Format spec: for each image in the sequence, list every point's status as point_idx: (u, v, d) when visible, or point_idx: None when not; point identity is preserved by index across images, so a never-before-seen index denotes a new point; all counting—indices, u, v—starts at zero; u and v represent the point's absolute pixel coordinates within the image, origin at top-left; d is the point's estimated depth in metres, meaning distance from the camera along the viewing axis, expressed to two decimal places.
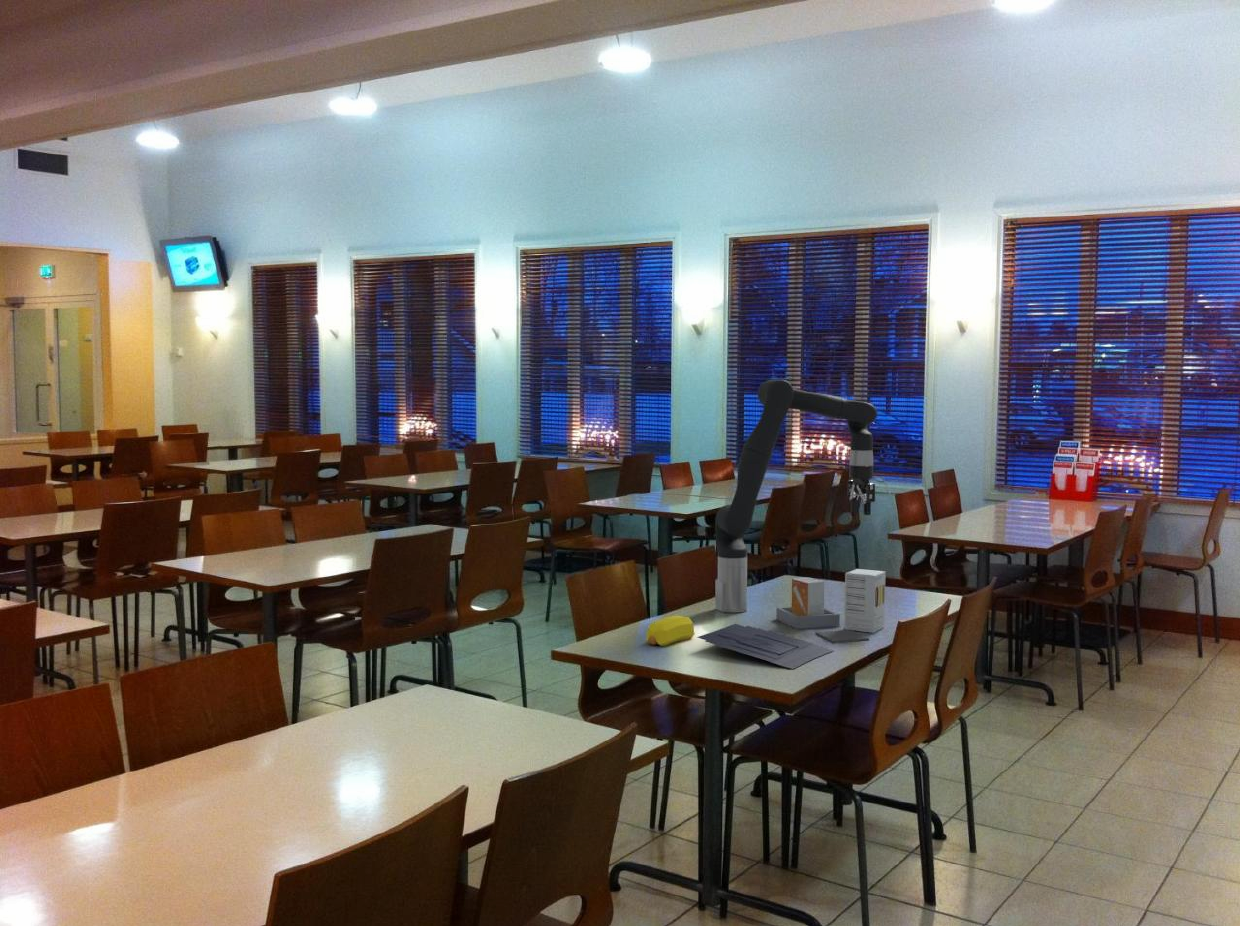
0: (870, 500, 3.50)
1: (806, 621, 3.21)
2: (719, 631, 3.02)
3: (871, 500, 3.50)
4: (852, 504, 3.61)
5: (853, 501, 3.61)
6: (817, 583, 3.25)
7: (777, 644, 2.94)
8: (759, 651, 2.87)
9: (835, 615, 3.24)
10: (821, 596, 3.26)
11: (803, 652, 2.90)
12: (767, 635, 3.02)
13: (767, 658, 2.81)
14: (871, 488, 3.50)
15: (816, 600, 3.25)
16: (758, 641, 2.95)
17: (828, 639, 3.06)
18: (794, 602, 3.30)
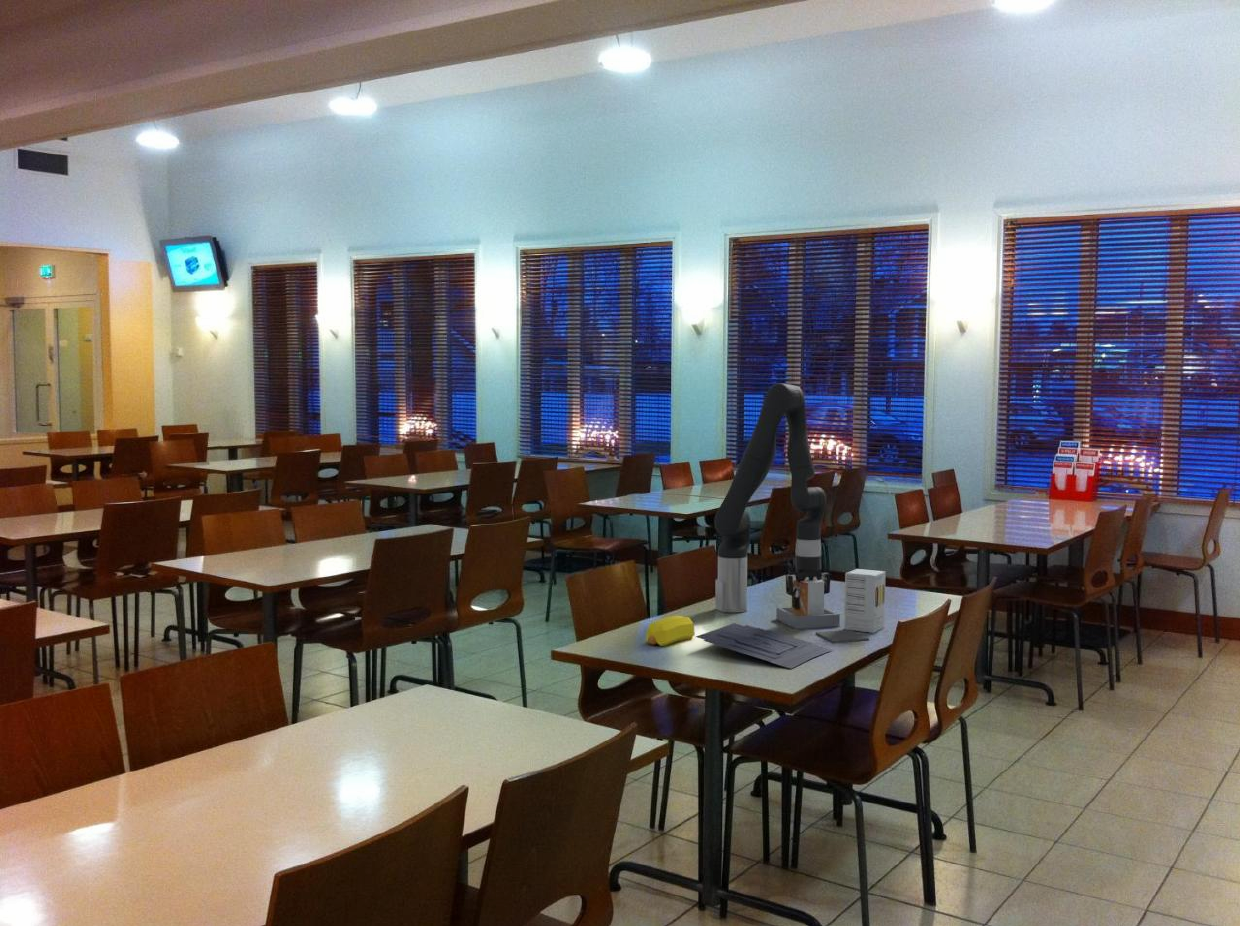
0: None
1: (806, 621, 3.21)
2: (718, 630, 3.02)
3: None
4: None
5: None
6: (817, 583, 3.25)
7: (776, 644, 2.94)
8: (757, 651, 2.87)
9: (835, 615, 3.24)
10: (821, 596, 3.26)
11: (802, 652, 2.90)
12: (766, 634, 3.02)
13: (766, 658, 2.82)
14: None
15: (816, 600, 3.25)
16: (756, 641, 2.95)
17: (828, 639, 3.06)
18: None
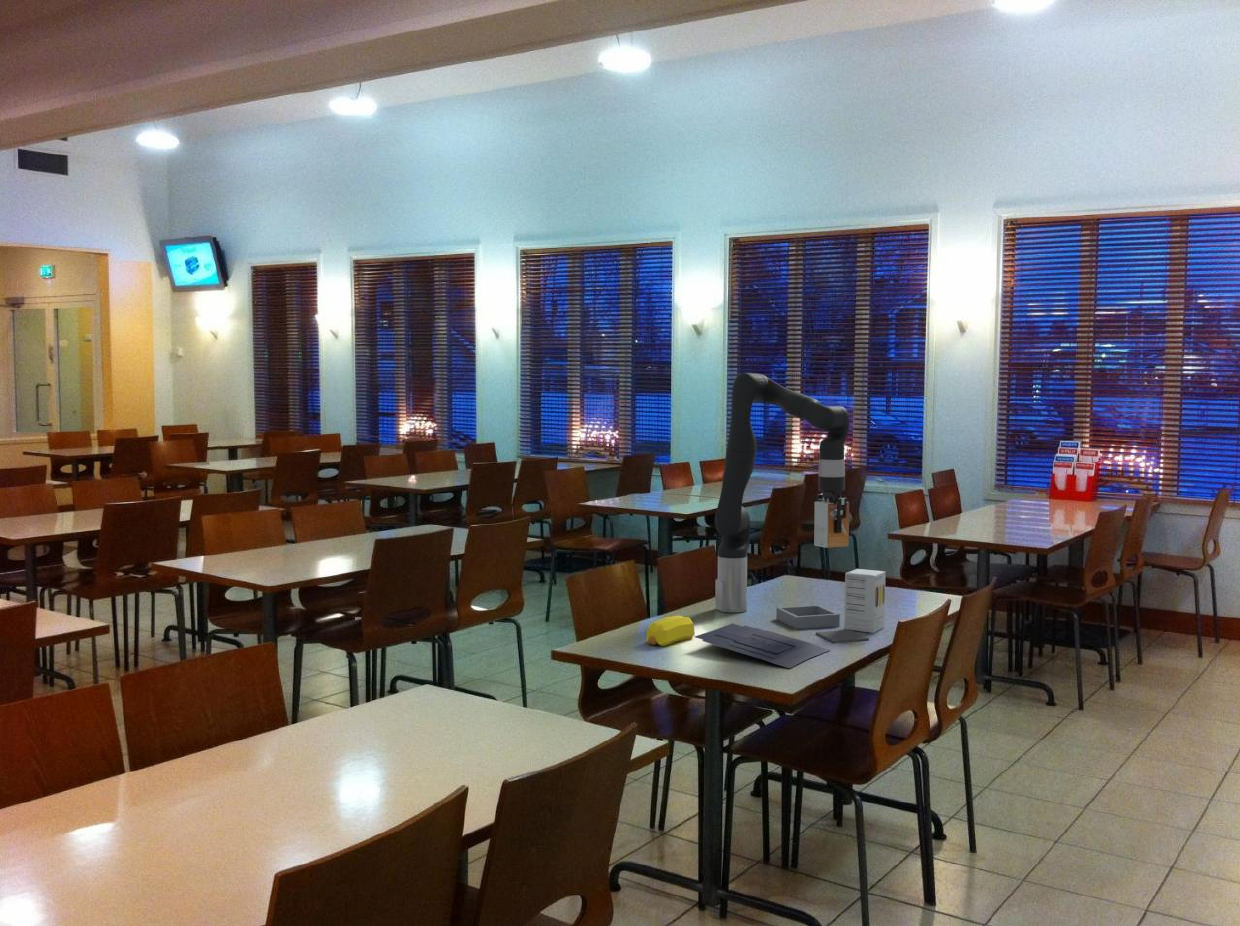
0: None
1: (806, 621, 3.21)
2: (716, 631, 3.02)
3: None
4: None
5: None
6: None
7: (774, 644, 2.94)
8: (756, 650, 2.87)
9: (835, 615, 3.24)
10: None
11: (800, 652, 2.90)
12: (764, 635, 3.02)
13: (764, 657, 2.82)
14: None
15: None
16: (755, 641, 2.95)
17: (828, 639, 3.06)
18: (831, 527, 3.15)
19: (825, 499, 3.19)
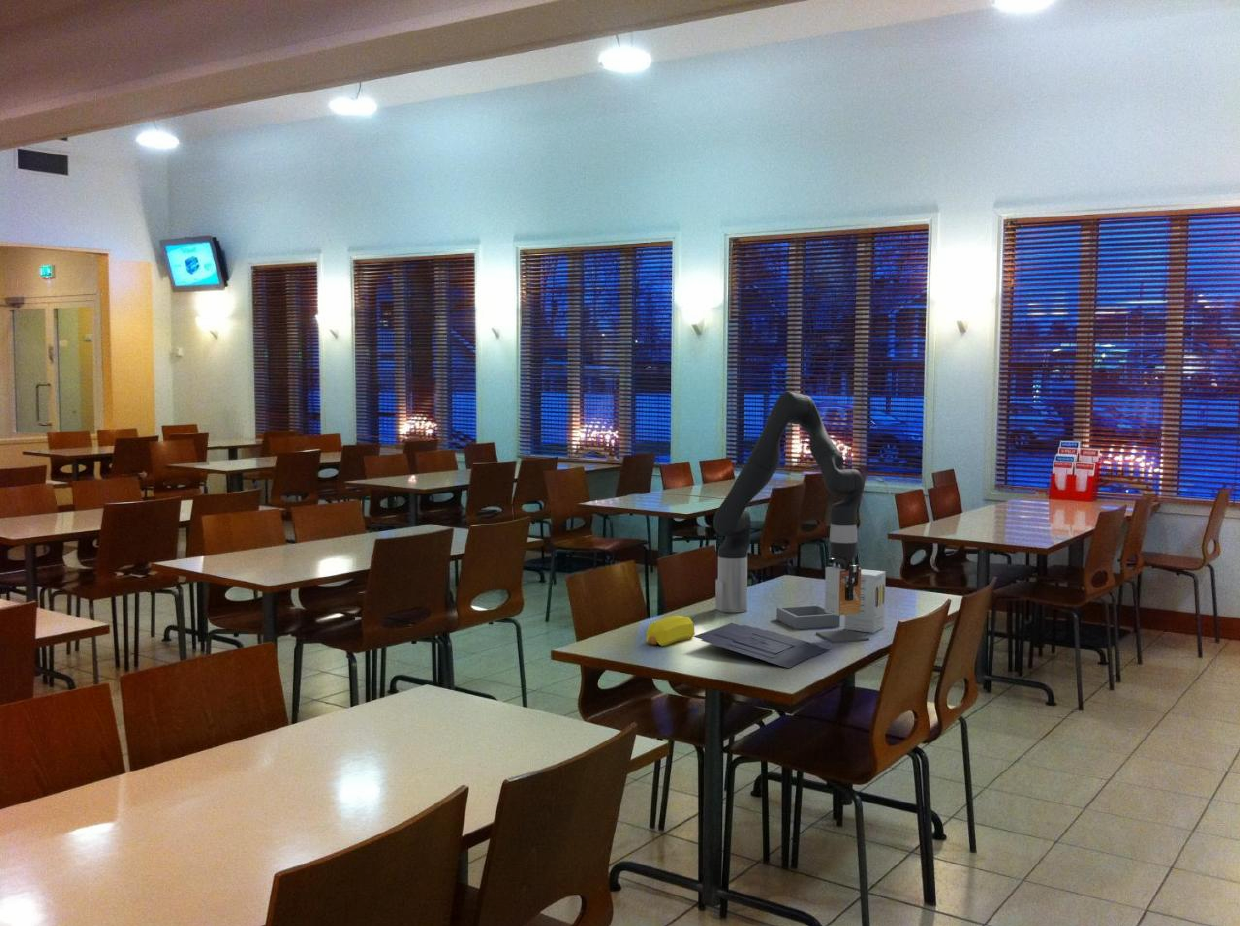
0: None
1: (806, 621, 3.21)
2: (715, 630, 3.02)
3: None
4: None
5: None
6: None
7: (773, 643, 2.94)
8: (755, 650, 2.87)
9: (835, 615, 3.24)
10: None
11: (799, 652, 2.90)
12: (763, 634, 3.02)
13: (763, 657, 2.82)
14: None
15: None
16: (754, 641, 2.95)
17: (828, 639, 3.06)
18: (843, 594, 3.06)
19: (836, 565, 3.09)
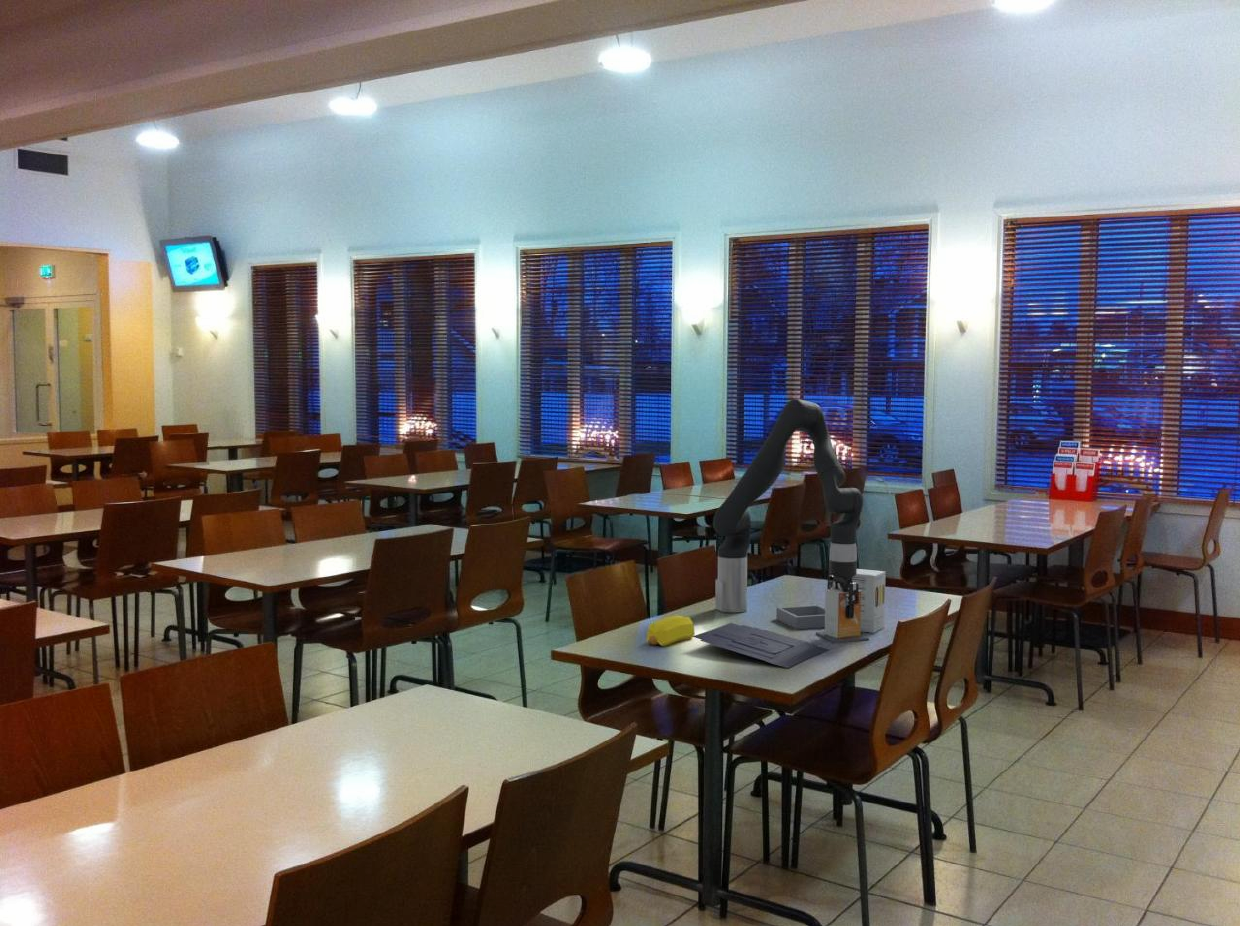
0: None
1: (806, 621, 3.21)
2: (714, 630, 3.03)
3: None
4: None
5: None
6: None
7: (772, 643, 2.95)
8: (754, 650, 2.87)
9: None
10: None
11: (798, 652, 2.90)
12: (762, 634, 3.02)
13: (762, 657, 2.82)
14: None
15: None
16: (753, 641, 2.95)
17: (828, 639, 3.06)
18: (842, 617, 3.06)
19: (836, 583, 3.10)
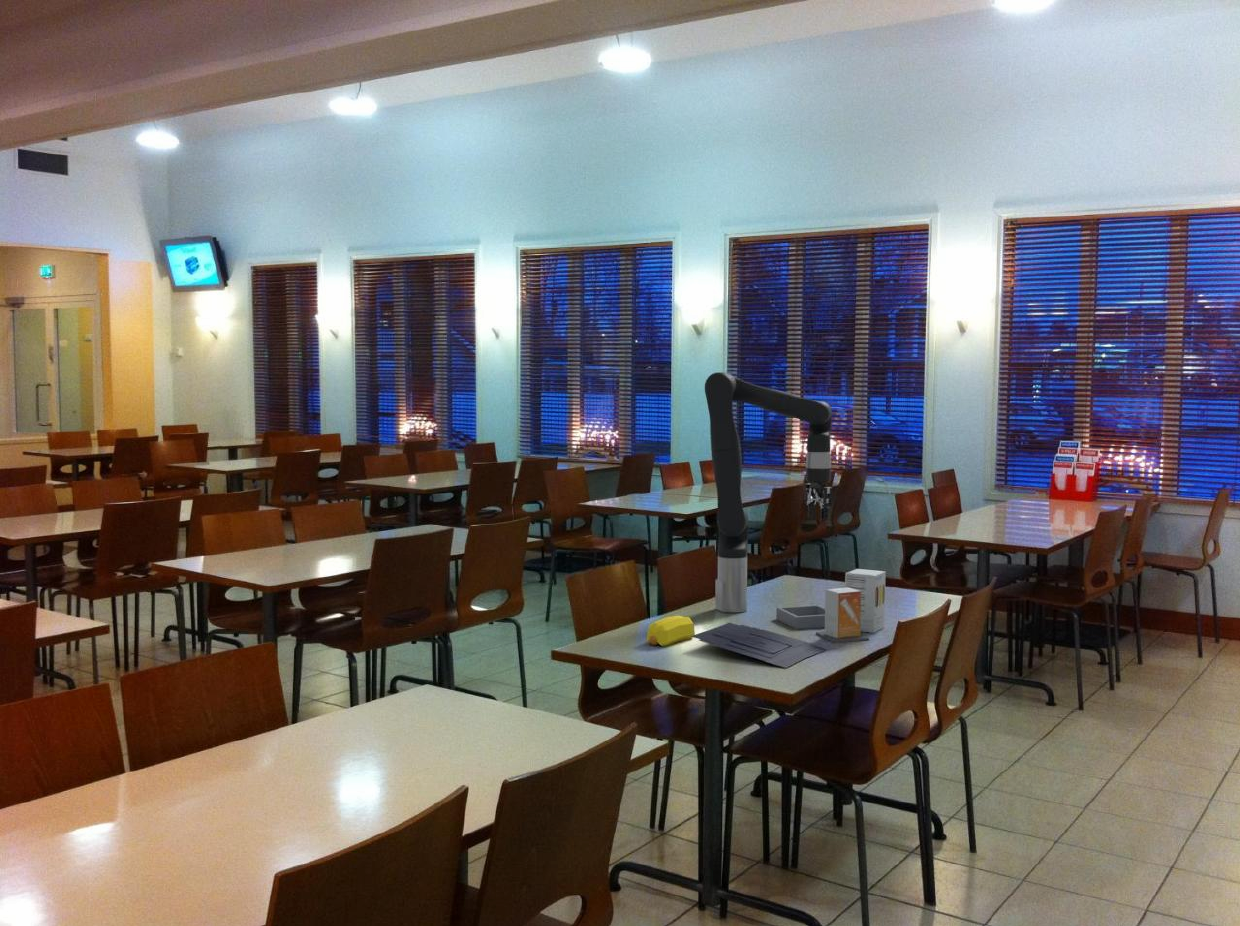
0: None
1: (806, 621, 3.21)
2: (713, 630, 3.03)
3: None
4: None
5: None
6: None
7: (771, 643, 2.95)
8: (753, 650, 2.88)
9: None
10: None
11: (797, 651, 2.91)
12: (761, 634, 3.03)
13: (761, 657, 2.82)
14: None
15: None
16: (752, 640, 2.96)
17: (828, 639, 3.06)
18: (842, 617, 3.06)
19: (812, 490, 3.36)
